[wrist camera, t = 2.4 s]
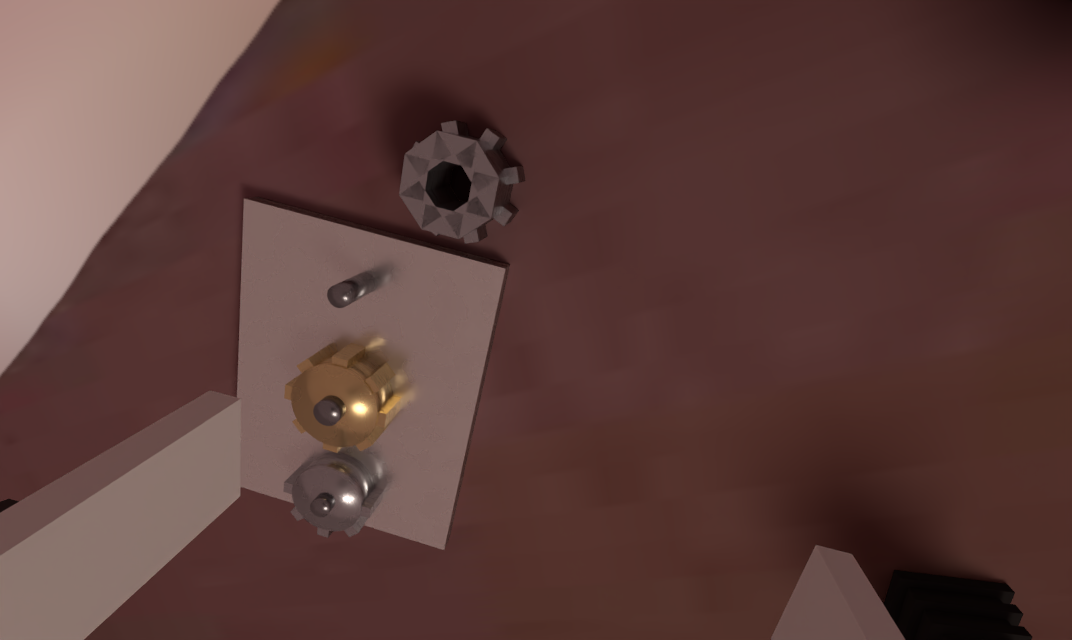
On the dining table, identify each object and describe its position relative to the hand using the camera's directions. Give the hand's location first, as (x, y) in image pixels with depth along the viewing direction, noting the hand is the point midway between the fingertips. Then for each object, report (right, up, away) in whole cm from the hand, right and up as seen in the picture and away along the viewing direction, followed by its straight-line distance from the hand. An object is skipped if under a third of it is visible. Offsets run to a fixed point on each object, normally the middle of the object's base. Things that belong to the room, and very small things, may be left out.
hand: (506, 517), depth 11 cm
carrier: (-14, -1, +31) cm, 34 cm away
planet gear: (-4, +14, +24) cm, 28 cm away
